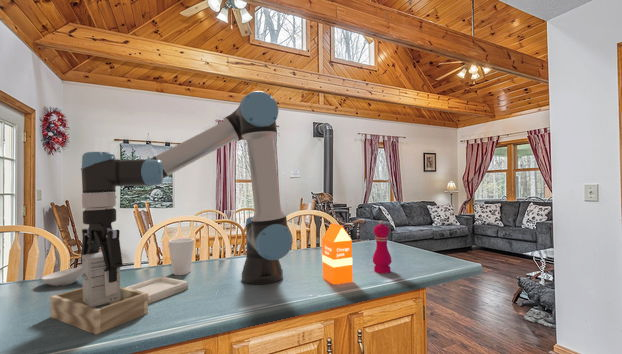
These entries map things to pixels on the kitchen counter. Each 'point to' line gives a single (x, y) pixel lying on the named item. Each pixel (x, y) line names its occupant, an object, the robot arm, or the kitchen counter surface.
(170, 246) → the foam cup
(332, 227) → the orange juice
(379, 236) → the pepper mill
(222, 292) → the kitchen counter surface
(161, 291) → the tray
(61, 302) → the crate
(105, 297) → the supplement box
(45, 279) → the spoon rest
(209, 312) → the kitchen counter surface
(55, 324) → the kitchen counter surface
